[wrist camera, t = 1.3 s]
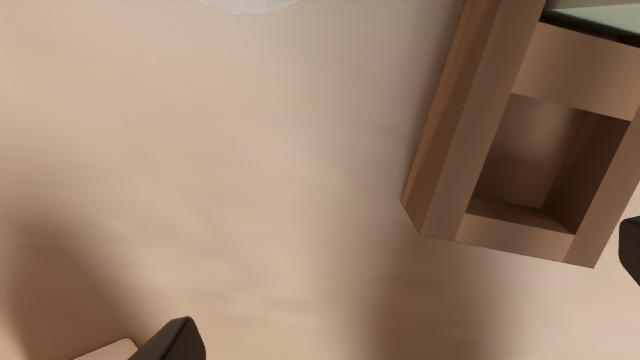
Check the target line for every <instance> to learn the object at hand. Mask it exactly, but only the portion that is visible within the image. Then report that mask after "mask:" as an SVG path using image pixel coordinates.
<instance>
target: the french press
mask: <svg viewBox="0 0 640 360" xmlns="http://www.w3.org/2000/svg"><path fill="white" fill-rule="evenodd" d="M198 1H201V2H203V3H205V4H207V5H210V6H212V7H214V8H217V9H219V10H221V11H223V12H226V13H228V14H271V13H273V12H276V11H278V10H280V9H282V8H285V7H287V6H289V5H291V4H294V3H296V2H298V1H300V0H198Z"/></svg>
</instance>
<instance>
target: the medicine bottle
mask: <svg viewBox="0 0 640 360" xmlns="http://www.w3.org/2000/svg"><path fill="white" fill-rule="evenodd" d="M137 350H138V348H137V347H136V345H135V344H134V343H133V342H132V340H130V339H129V338H124V339H122V340H119V341H117V342H114V343H112V344H109V345H107V346H105V347H102V348H100V349H97V350H95V351H93V352H90V353H88V354H85V355H83V356H80V357H78V358H76V359H73V360H127V359H128V358H129V357H131V356H132V355H133V354H134V353H135V352H136V351H137Z"/></svg>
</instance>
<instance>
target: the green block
mask: <svg viewBox="0 0 640 360" xmlns="http://www.w3.org/2000/svg"><path fill="white" fill-rule="evenodd" d="M540 17H541V18H545V19H549V20H553V21H556V22H560V23H564V24H568V25H572V26H575V27H579V28H583V29H587V30H590V31H594V32H598V33H602V34H605V35H635V36H640V0H546V2H545V5H544V7H543V10H542V12H541V15H540Z"/></svg>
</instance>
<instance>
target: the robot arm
mask: <svg viewBox="0 0 640 360" xmlns="http://www.w3.org/2000/svg"><path fill="white" fill-rule="evenodd" d="M618 254H619V259H620V262H621V264H622V265H623V267H624V268H625V269H626V271H627V272H628V273H629V274H630V275H631V277H632V278H633V279H634V280H635V281H636V283H637V284H638V285H639V286H640V216H636V217H632V218H628V219H624V220H623V221H622V222H621V223H620V226H619V251H618ZM127 360H206V350H205V346H204V343H203V341H202V338H201V336H200V334H199V331H198V329H197V326H196V324H195V322H194V320H193V319H192V318H191V317H189V316H186V317H181V318H177V319H172V320H170V321H169V322H168V323H167V324H166V325H165V326H164V327H162V328H161V329H160V330H159V331H158V332H157V333H156V334H155V335H154V336H153V337H151V338H150V339H149V340H148V341H147V342H146V343H145V344H144V345H143V346H142V347H140V348H139V349H138V350H137V351H136V352H135V353H134V354H133V355H132V356H131V357H129V358H128V359H127Z"/></svg>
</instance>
